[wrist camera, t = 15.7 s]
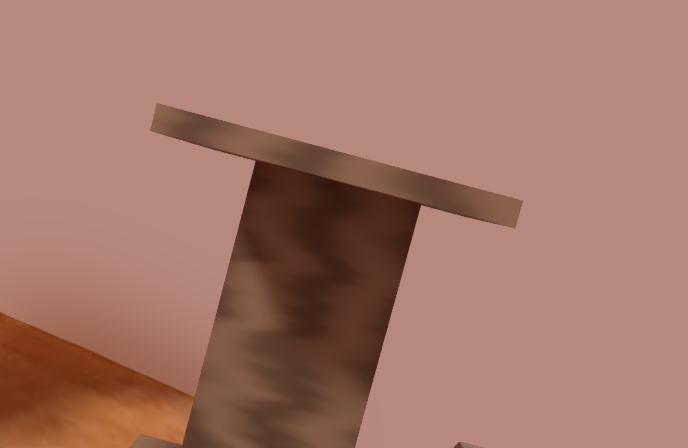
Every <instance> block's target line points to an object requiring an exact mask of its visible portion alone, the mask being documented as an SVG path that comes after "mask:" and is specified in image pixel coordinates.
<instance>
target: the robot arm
mask: <svg viewBox="0 0 688 448" xmlns="http://www.w3.org/2000/svg"><path fill="white" fill-rule="evenodd" d="M454 448H481V447H478V446H474V445H470V444H466V443H463V442H459V443H458V444H457V445H455V447H454Z"/></svg>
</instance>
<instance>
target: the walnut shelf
mask: <svg viewBox="0 0 688 448" xmlns="http://www.w3.org/2000/svg"><path fill="white" fill-rule="evenodd" d="M150 131H152V132H156V133H159V134H163V135H166V136H169V137H173V138H176V139H179V140H183V141H187V142H190V143H193V144H196V145H200V146H203V147H207V148H210V149H213V150H217V151H221V152H224V153H228V154H232V155H236V156H239V157H243V158H247V159H251V160H255V161H256V162H255V166H254V170H253V174H252V178H251V181H250V185H249V189H248V193H247V197H246V201H245V205H244V208H243V213H242V217H241V220H240V224H239V228H238V232H237V236H236V240H235V243H234V247H233V251H232V255H231V259H230V263H229V267H228V270H227V274H226V278H225V282H224V286H223V290H222V294H221V298H220V301H219V305H218V309H217V313H216V317H215V321H214V325H213V329H212V332H211V336H210V340H209V344H208V348H207V352H206V356H205V360H204V364H203V367H202V372H201V375H200V379H199V383H198V387H197V391H196V395H195V398H194V402H193V406H192V410H191V414H190V418H189V422H188V426H187V429H186V433H185V437H184V441H183V445H179V444H175V443H172V442H168V441H164V440H161V439H157V438H153V437H150V436H146V435H142V434H141V435H140V436H139V438H138V439H137V440H136V441H135V442H134V443H133V444H132V445H131V447H130V448H355V445H356V441H357V437H358V433H359V430H360V426H361V423H362V419H363V415H364V411H365V408H366V404H367V401H368V397H369V393H370V389H371V386H372V382H373V378H374V375H375V371H376V368H377V364H378V360H379V357H380V353H381V350H382V346H383V342H384V338H385V335H386V331H387V328H388V324H389V320H390V317H391V313H392V309H393V306H394V302H395V298H396V295H397V291H398V287H399V284H400V280H401V276H402V273H403V269H404V265H405V262H406V258H407V254H408V251H409V247H410V243H411V240H412V236H413V232H414V229H415V225H416V221H417V218H418V214H419V211H420V207H421V205H423V206H427V207H431V208H434V209H438V210H442V211H445V212H449V213H453V214H457V215H460V216H464V217H468V218H473V219H477V220H481V221H486V222H490V223H494V224H499V225H503V226H508V227H512V228H515V227H516V223H517V220H518V217H519V213H520V209H521V206H522V202H523V201H521V200H518V199H514V198H510V197H507V196H503V195H499V194H495V193H492V192H488V191H484V190H480V189H476V188H473V187H469V186H465V185H461V184H457V183H454V182H450V181H447V180H443V179H439V178H435V177H432V176H428V175H424V174H420V173H416V172H413V171H409V170H405V169H402V168H398V167H394V166H390V165H387V164H383V163H379V162H375V161H372V160H368V159H364V158H360V157H357V156H353V155H349V154H345V153H342V152H338V151H334V150H330V149H327V148H323V147H319V146H315V145H312V144H307V143H304V142H300V141H297V140H293V139H289V138H285V137H282V136H278V135H274V134H270V133H267V132H263V131H259V130H255V129H251V128H248V127H244V126H240V125H237V124H233V123H229V122H225V121H222V120H218V119H214V118H210V117H206V116H203V115H199V114H195V113H191V112H188V111H184V110H180V109H177V108H173V107H169V106H165V105H162V104H157V105H156V109H155V114H154V118H153V121H152V126H151V129H150Z"/></svg>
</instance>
